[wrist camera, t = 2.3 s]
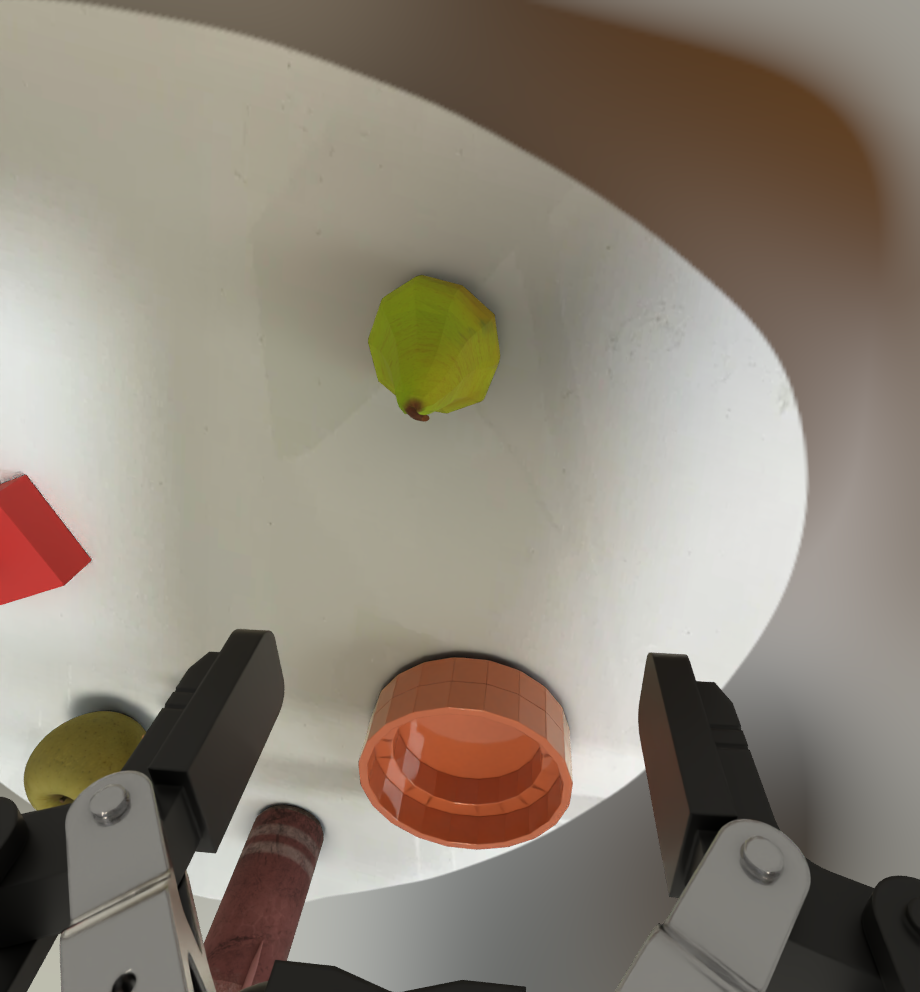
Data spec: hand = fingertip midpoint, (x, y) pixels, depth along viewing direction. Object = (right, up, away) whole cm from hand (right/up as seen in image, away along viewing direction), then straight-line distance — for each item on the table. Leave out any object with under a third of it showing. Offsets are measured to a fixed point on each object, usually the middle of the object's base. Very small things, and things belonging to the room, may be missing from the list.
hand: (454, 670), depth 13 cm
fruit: (-1, +12, +19) cm, 23 cm away
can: (-14, -25, +41) cm, 50 cm away
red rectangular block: (-30, +1, +28) cm, 41 cm away
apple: (-27, -15, +37) cm, 48 cm away
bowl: (+1, -13, +33) cm, 35 cm away
